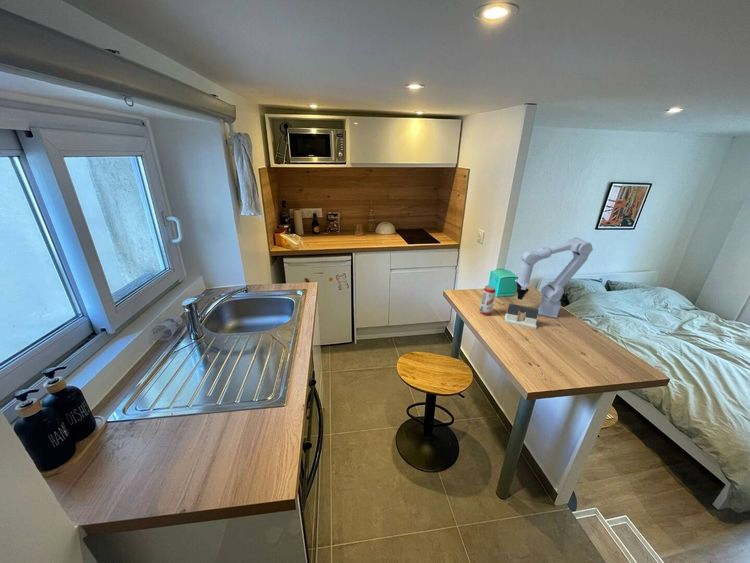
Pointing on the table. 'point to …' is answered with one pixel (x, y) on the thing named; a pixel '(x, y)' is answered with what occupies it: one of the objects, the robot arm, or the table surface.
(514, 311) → the glasses bar
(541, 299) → the robot arm
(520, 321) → the display stand
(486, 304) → the beer can
